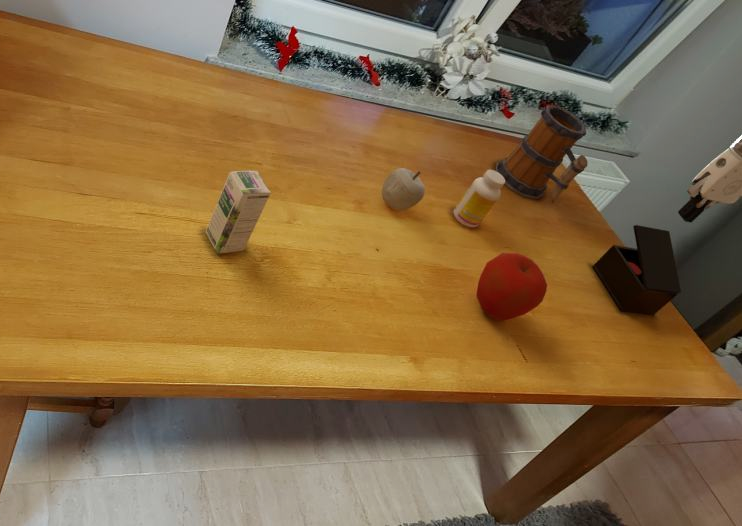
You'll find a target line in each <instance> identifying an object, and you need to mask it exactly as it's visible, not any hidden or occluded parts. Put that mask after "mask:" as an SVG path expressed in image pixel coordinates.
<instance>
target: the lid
mask: <svg viewBox="0 0 742 526" xmlns="http://www.w3.org/2000/svg"><path fill="white" fill-rule="evenodd" d="M632 229H633V233H634V238H635V245H636V249H637V250H638V256H639V262H640V267H641V273H642V279H643V284H644V288H645V289H652V290H659V291H666V292H674V293H678V294H680V293H682V291H681V284H680V280H679V275H678V270H677V269H678V268H677V264H676V259H675V253H674V248H673V243H672V238H671V233H670V231H669V230H665V229H659V228H656V227H649V226H645V225H638V224H635V225H633V226H632Z"/></svg>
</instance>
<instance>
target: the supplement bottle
mask: <svg viewBox="0 0 742 526" xmlns="http://www.w3.org/2000/svg"><path fill="white" fill-rule="evenodd" d="M504 183H505V179H504V177H503V176H502V175H501V174H500V173H498V172H496V171H495V170H494V169H487V170H486V171H485V172H484V174H483V176H481V177H480V176H479V177H477V178H476V179H474V180H473V182H472V183H471V185H470V186H469V188H468V189H467V190H466V191H465V193H464V195H462V197H461V199H459V201H458V202H457V204H456V206H455V207H454V209H453V215H454V218H455V219H456V220H457V221H458V222H459V223H460V224H461V225H463V226H465V227H467V228H476V227H478V226H479V225H480V224H481V223H482V221H483V220H484V219H485V217H486V216H487V215H488V213H489V212H490V210H491V209H493V207H494V206H495V204H496V203H497V201H498V200H499V199H500V198H501V194H502V191H501V188H502V187H503V186H504V185H505V184H504Z"/></svg>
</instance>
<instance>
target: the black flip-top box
mask: <svg viewBox="0 0 742 526" xmlns="http://www.w3.org/2000/svg"><path fill="white" fill-rule="evenodd" d="M628 262H632V263H634V264H635V265H636V266H638V267H639V269H640V270H641V267H640V262H639V256H638V250H637V247H636V248H635V247H630V246H623V245H618V244H613V245H612V246H611V247H609V249H607V251H606V252H605V253H603V255H602V256H601V257H599V259H597V261H596V262H595V263H594V264H593V265H592V266H591V268H592V270H593V272H594V273H595V275H596V276H597V278H598V279H599V281H600V282H601V284H602V285H603V287H604V289H605V290H606V292H607V294H608V296H609V297H610V298H611V300H612V301H613V303H614V304H615V306H616V308H617V309H618V311H619V312H621V313H629V314H630V313H631V314H639V315H646V316H655V315H656V314H657V313H658V312H660V310H662V309H663V308H664V307H665V306H666V305H667V304H668V303H670V302H671V301H672V300H674V298H676V297H677V296H678V294H679V293H674V292H666V291H659V290H652V289H645V288H644V284H643V279H642V273H641V274H640V275H639V276H638V277H637V275H636V274H635V272H634V271H633V269H632V268H631V266H630V265H629V264H628Z"/></svg>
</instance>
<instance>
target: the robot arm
mask: <svg viewBox="0 0 742 526" xmlns="http://www.w3.org/2000/svg"><path fill="white" fill-rule="evenodd" d="M691 185H692V186H690V187H689V188H688V189H687V190H686V193H688V195H689V196H690V197H689V200H688V201H687V202H686V203H685V204H683V205H682V207H681V208H680V209H679V210H678V211H677V213H678V215H679V216H680V217H681V219H682V220H683V221H684V222H686V223H693V222H694V221H695V220H696V219H697V218H698V217H699V216H700V215H701V214H702V213H704V212H705V210H709V209H710V208H712V207H713V206H714V205H716V204H726V205H728V204H729V205H731V204H735V203H736V202H737V201H739V199H740V198H741V197H742V134H741V135H740V136H739V137H738V138H737V139H736V140H735V141H733V143H732V144H730V146H729V147H728V148H727V149H726V150H724V151H723V152H722V153H720V154H719V155H718V156H717V157H715V158H714V159H713V160H711V162H710V163H708V164H707V165H706V166H705V167H704V168H702V169H701V171H699V173H697V175H696V176H695V177H694V178H693V179H692V181H691Z"/></svg>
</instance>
